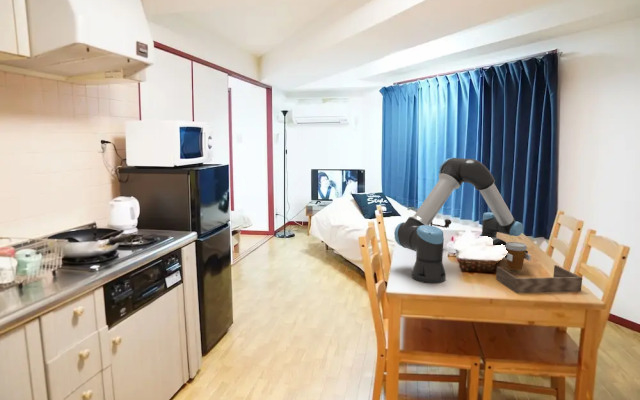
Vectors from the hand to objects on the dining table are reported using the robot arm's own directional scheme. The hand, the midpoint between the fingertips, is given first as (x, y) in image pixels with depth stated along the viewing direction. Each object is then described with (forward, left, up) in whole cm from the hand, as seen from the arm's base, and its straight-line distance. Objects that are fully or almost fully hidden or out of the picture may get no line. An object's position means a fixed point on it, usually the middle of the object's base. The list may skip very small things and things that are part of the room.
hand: (520, 258), depth 191 cm
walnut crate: (0, -14, -8) cm, 16 cm away
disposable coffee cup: (0, +5, -7) cm, 8 cm away
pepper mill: (-24, +49, -8) cm, 55 cm away
